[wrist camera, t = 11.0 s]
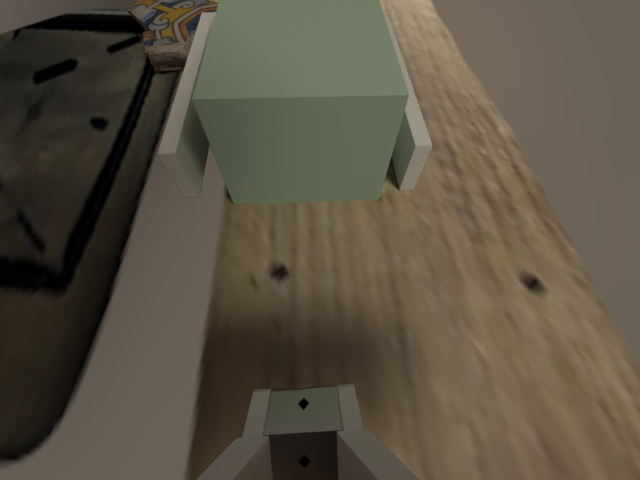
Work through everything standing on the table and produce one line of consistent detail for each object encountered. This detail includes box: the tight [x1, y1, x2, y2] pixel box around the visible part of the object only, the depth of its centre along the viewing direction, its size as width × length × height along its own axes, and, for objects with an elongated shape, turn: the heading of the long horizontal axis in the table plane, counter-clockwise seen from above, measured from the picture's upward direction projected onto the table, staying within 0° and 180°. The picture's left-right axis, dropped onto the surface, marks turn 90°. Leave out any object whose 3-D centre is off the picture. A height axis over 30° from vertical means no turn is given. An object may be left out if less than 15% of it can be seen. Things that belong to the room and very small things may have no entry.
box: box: [158, 10, 432, 197], centre depth 23 cm, size 16×17×4 cm
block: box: [192, 0, 409, 204], centre depth 20 cm, size 10×12×8 cm
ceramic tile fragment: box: [127, 0, 218, 72], centre depth 30 cm, size 12×3×10 cm
